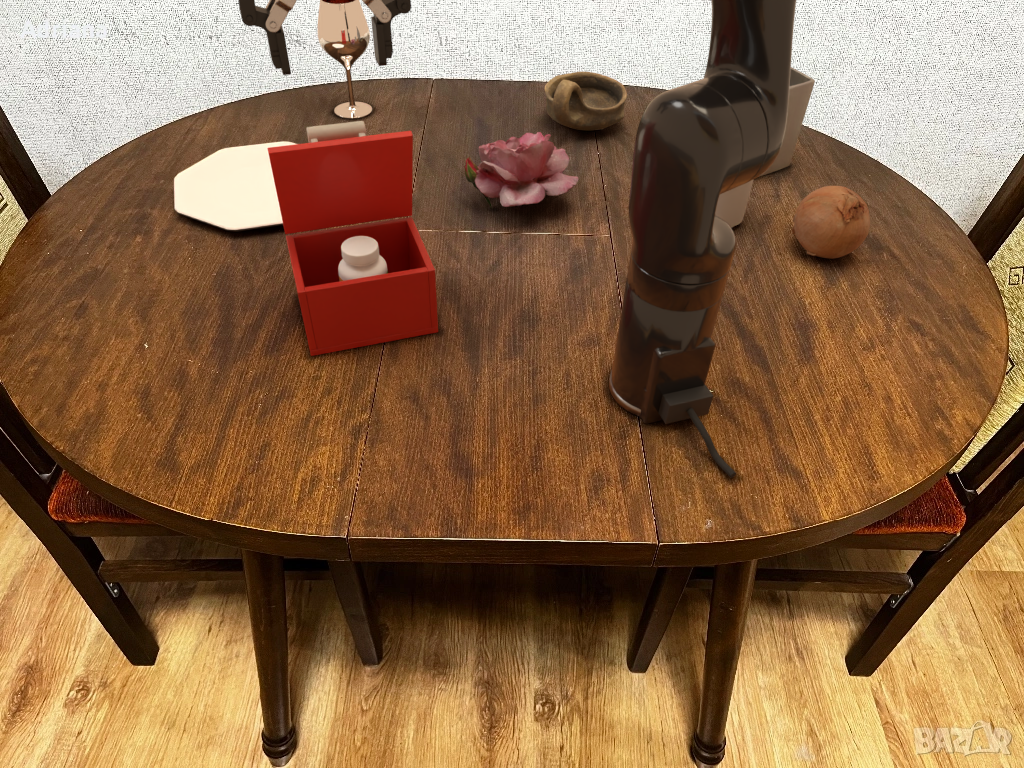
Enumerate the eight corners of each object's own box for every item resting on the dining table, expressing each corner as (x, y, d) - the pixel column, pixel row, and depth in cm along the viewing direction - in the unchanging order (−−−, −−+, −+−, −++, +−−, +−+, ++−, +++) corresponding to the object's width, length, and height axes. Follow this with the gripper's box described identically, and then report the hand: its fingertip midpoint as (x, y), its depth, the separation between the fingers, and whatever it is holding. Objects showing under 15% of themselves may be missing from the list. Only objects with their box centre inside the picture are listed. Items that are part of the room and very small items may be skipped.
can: (742, 236, 105) (764, 155, 97) (687, 229, 106) (705, 148, 98) (741, 208, 110) (762, 129, 102) (689, 202, 111) (706, 123, 103)
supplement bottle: (393, 328, 88) (385, 257, 81) (345, 332, 87) (334, 261, 80) (391, 300, 91) (383, 230, 85) (345, 303, 91) (334, 233, 84)
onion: (837, 281, 103) (885, 243, 94) (774, 257, 102) (816, 215, 93) (844, 226, 107) (892, 183, 98) (783, 202, 106) (825, 157, 97)
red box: (438, 332, 89) (435, 269, 82) (310, 356, 85) (297, 292, 79) (416, 277, 96) (411, 216, 90) (298, 297, 93) (285, 235, 86)
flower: (600, 189, 107) (586, 120, 102) (519, 235, 102) (500, 165, 96) (537, 175, 118) (521, 112, 113) (461, 216, 113) (440, 152, 107)
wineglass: (355, 125, 126) (341, 10, 114) (318, 113, 129) (300, -1, 117) (387, 108, 131) (376, -4, 119) (351, 96, 134) (337, -14, 122)
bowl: (637, 118, 131) (645, 59, 124) (592, 159, 120) (598, 97, 113) (566, 99, 136) (570, 41, 129) (516, 137, 125) (518, 76, 118)
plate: (176, 162, 116) (173, 153, 115) (333, 144, 121) (331, 135, 120) (177, 247, 99) (174, 237, 98) (359, 221, 105) (357, 211, 104)
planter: (788, 190, 114) (829, 59, 101) (735, 182, 116) (768, 51, 102) (790, 142, 126) (826, 19, 113) (741, 135, 127) (771, 13, 114)
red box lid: (413, 135, 79) (402, 104, 81) (268, 153, 76) (261, 119, 78) (412, 215, 90) (403, 185, 92) (285, 234, 86) (278, 203, 88)
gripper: (209, -137, 53) (257, 92, 65) (409, -143, 57) (421, 75, 68) (205, -156, 59) (249, 59, 70) (388, -160, 62) (403, 45, 73)
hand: (334, 67), depth 69 cm, fingers open, 8 cm apart
